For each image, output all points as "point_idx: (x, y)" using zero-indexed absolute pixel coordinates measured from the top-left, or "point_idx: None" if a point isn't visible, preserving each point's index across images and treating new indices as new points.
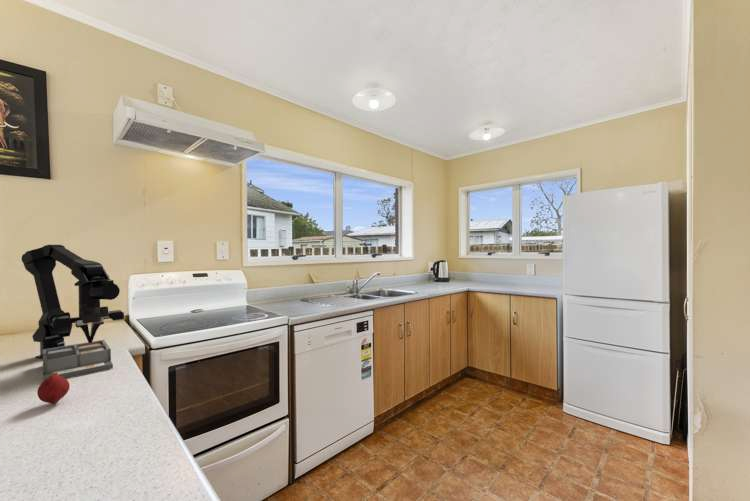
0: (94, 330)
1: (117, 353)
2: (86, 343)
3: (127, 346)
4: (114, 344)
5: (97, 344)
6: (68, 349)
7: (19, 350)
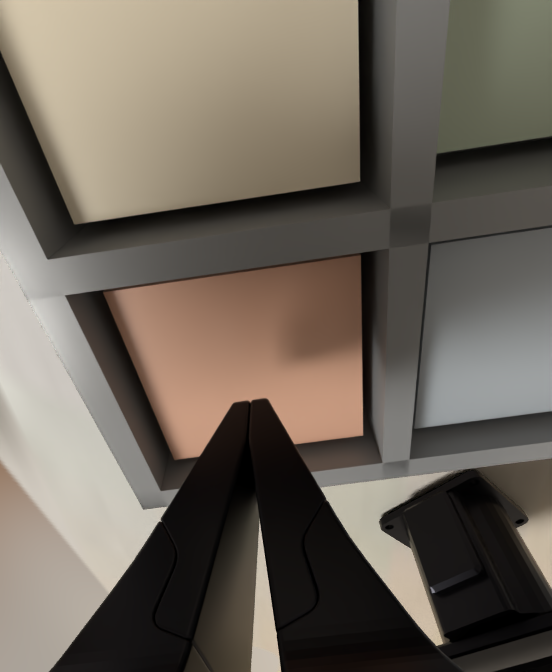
0: (154, 589)
1: None
2: None
3: (57, 496)
4: None
5: (192, 428)
6: (452, 387)
7: None
